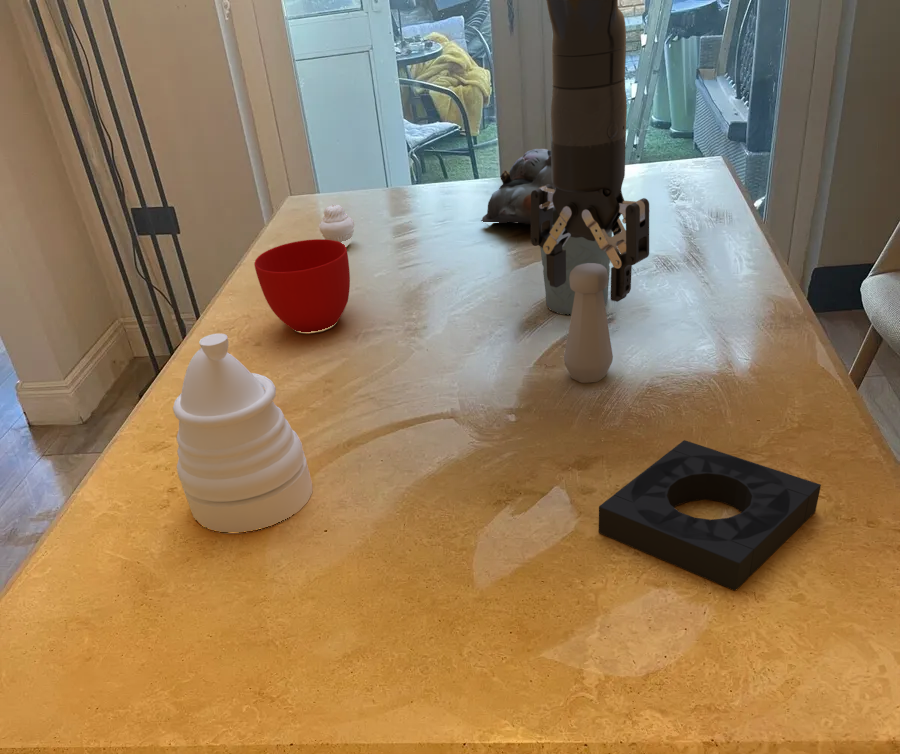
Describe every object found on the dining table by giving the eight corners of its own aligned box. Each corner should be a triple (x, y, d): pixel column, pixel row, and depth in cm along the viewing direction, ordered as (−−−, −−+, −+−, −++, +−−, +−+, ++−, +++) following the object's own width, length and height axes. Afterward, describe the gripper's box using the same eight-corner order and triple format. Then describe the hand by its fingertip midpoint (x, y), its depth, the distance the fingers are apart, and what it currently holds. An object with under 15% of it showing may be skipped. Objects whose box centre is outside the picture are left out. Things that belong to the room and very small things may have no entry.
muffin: (326, 242, 152) (318, 201, 148) (359, 238, 152) (352, 197, 147) (320, 254, 148) (312, 211, 143) (355, 250, 147) (347, 208, 142)
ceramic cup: (387, 299, 128) (376, 231, 122) (330, 347, 117) (315, 275, 110) (315, 294, 133) (301, 228, 126) (254, 339, 122) (235, 270, 115)
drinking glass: (573, 323, 114) (572, 231, 107) (525, 304, 121) (520, 216, 113) (627, 300, 118) (630, 209, 111) (577, 283, 125) (577, 196, 117)
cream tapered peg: (559, 385, 101) (556, 276, 93) (568, 363, 105) (567, 257, 97) (608, 387, 100) (610, 276, 91) (616, 365, 104) (618, 257, 95)
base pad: (682, 465, 85) (684, 439, 84) (815, 512, 77) (821, 484, 75) (598, 532, 78) (598, 506, 77) (735, 591, 70) (739, 563, 68)
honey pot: (337, 490, 89) (298, 324, 77) (235, 549, 83) (176, 379, 71) (267, 452, 96) (223, 297, 85) (169, 504, 90) (107, 344, 79)
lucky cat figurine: (472, 223, 151) (490, 138, 147) (534, 240, 155) (553, 157, 151) (499, 218, 138) (519, 124, 133) (565, 237, 141) (587, 146, 137)
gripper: (670, 129, 83) (660, 292, 94) (556, 118, 91) (558, 270, 102) (625, 148, 79) (620, 316, 90) (510, 136, 88) (518, 291, 98)
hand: (587, 291), depth 96 cm, fingers open, 8 cm apart
